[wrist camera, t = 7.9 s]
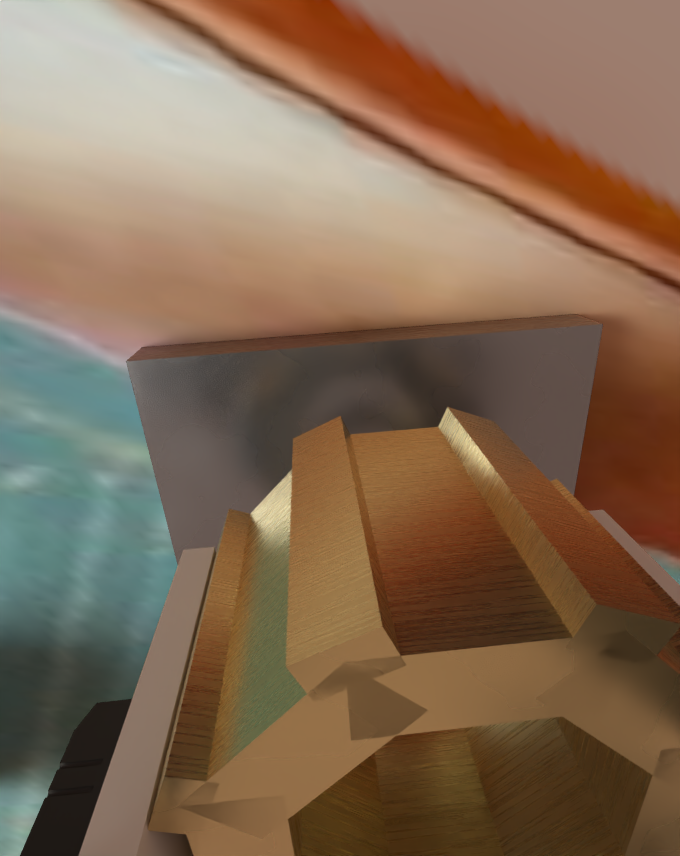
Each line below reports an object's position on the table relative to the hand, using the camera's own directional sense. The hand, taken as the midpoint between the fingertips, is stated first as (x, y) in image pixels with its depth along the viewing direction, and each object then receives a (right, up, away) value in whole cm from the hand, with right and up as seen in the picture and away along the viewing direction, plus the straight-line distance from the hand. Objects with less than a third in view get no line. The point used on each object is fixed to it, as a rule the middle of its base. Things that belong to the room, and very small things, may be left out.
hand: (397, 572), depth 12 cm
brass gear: (0, 0, 0) cm, 0 cm away
